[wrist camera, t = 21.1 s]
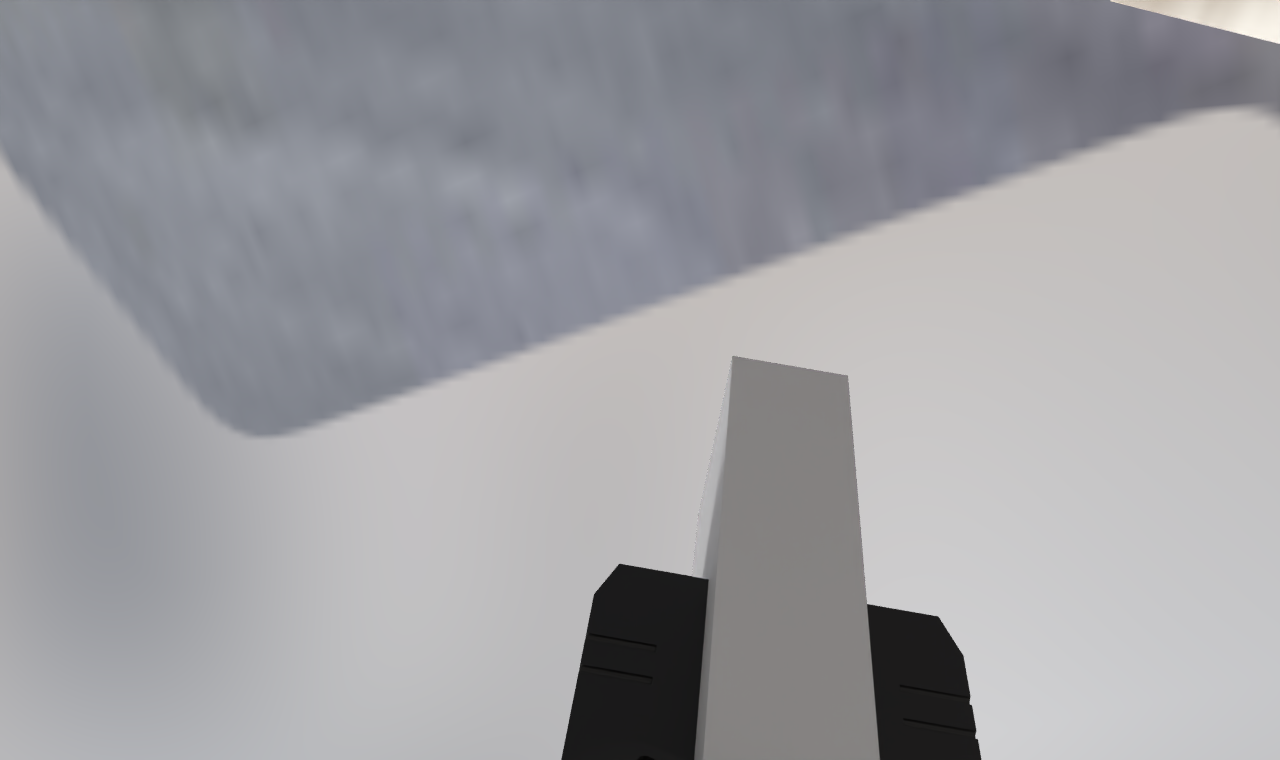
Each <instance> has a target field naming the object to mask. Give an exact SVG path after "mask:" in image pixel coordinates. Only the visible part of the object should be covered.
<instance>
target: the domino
mask: <svg viewBox="0 0 1280 760" xmlns="http://www.w3.org/2000/svg"><path fill="white" fill-rule="evenodd" d="M1111 1H1112V2H1116V3H1120V4H1124V5H1128V6H1132V7H1136V8H1140V9H1144V10H1148V11H1152V12H1156V13H1160V14H1164V15H1168V16H1172V17H1176V18H1179V19H1183V20H1187V21H1191V22H1195V23H1199V24H1203V25H1207V26H1211V27H1215V28H1219V29H1223V30H1227V31H1231V32H1235V33H1239V34H1243V35H1247V36H1251V37H1255V38H1259V39H1263V40H1267V41H1271V42H1275V43H1278V44H1280V0H1111Z"/></svg>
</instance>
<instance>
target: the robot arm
mask: <svg viewBox="0 0 1280 760" xmlns="http://www.w3.org/2000/svg"><path fill="white" fill-rule="evenodd" d="M858 504H859V503H858V493H857V479H856V467H855V456H854V444H853V431H852V420H851V407H850V395H849V383H848V376H847V375H841V374H834V373H829V372H823V371H817V370H812V369H806V368H800V367H794V366H788V365H782V364H777V363H771V362H765V361H759V360H753V359H748V358H741V357H736V356H733V357H732V361H731V365H730V370H729V375H728V379H727V384H726V388H725V393H724V398H723V403H722V407H721V412H720V416H719V421H718V426H717V430H716V435H715V440H714V444H713V449H712V453H711V458H710V463H709V467H708V472H707V476H706V481H705V486H704V491H703V495H702V500H701V504H700V509H699V513H698V522H697V532H696V542H695V552H694V562H693V573H692V576H687V575H681V574H675V573H669V572H664V571H658V570H652V569H646V568H641V567H634V566H629V565H623V564H619V565H618V566H617V567H616V569H615V570H614V571H613V572H612V574H611V575H610V576H609V577H608V578H607V580H606V581H605V582H604V583H603V584H602V585H601V587H600V588H599V589H598V590H597V591H596V593H595V594H594V598H593V603H592V608H591V613H590V618H589V623H588V628H587V633H586V639H585V643H584V649H583V654H582V658H581V663H580V670H579V674H578V679H577V684H576V689H575V694H574V699H573V704H572V709H571V714H570V719H569V724H568V729H567V734H566V739H565V745H564V749H563V754H562V760H981V755H980V749H979V744H978V739H975V734H976V726H975V721H974V715H973V709H972V705H970V704H969V701H970V691H969V686H968V680H967V675H966V668H965V662H964V657H963V654H962V653H961V651H960V650H959V648H958V647H957V645H956V643H955V642H954V640H953V639H952V637H951V636H950V634H949V633H948V631H947V629H946V628H945V626H944V625H943V623H942V622H941V620H940V618H939V617H938V616H932V615H926V614H921V613H915V612H909V611H903V610H897V609H892V608H886V607H880V606H875V605H869V604H867V600H866V588H865V577H864V564H863V552H862V540H861V527H860V516H859V505H858Z"/></svg>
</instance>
